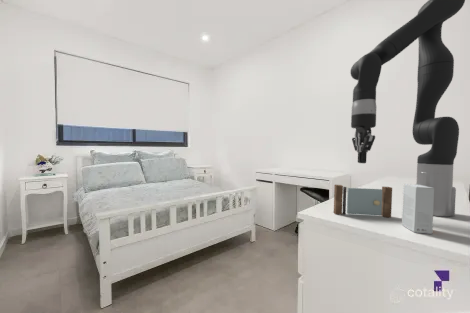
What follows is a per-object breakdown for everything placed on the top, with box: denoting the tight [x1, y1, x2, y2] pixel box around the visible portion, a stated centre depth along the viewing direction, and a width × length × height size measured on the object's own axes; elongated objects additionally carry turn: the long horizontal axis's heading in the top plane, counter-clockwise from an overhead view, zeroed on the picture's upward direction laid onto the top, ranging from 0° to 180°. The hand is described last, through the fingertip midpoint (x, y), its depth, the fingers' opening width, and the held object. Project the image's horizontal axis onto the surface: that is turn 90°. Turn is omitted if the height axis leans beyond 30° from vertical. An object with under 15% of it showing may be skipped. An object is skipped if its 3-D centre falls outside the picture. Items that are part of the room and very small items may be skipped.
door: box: [346, 187, 382, 217], centre depth 70 cm, size 10×2×8 cm, turn 82°
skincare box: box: [401, 183, 434, 235], centre depth 58 cm, size 6×4×12 cm
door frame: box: [333, 184, 393, 218], centre depth 70 cm, size 17×2×10 cm, turn 82°
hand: (361, 163), depth 76 cm, fingers closed
